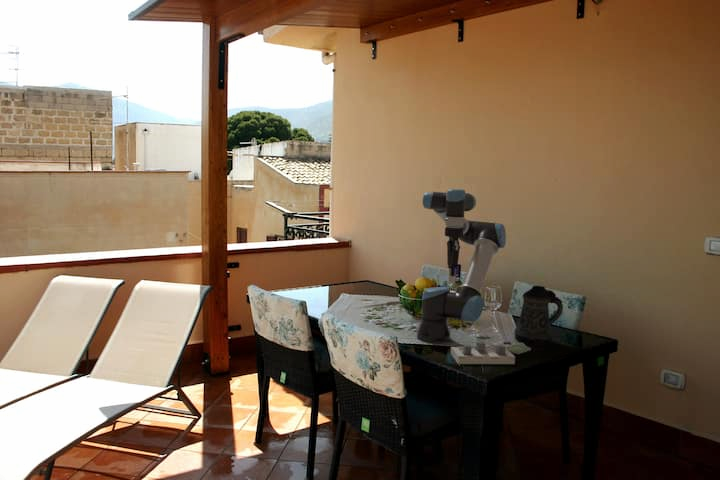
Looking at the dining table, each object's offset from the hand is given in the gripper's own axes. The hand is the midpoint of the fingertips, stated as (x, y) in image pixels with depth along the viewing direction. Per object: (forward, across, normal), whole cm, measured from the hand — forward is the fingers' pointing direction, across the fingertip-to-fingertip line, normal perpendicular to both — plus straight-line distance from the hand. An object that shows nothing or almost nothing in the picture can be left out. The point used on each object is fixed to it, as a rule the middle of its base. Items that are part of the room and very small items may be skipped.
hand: (451, 283), depth 247 cm
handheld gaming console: (+30, -6, +29) cm, 42 cm away
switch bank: (+29, +9, +12) cm, 33 cm away
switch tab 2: (+27, +6, +12) cm, 30 cm away
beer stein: (+30, -18, +45) cm, 57 cm away
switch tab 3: (+27, +11, +19) cm, 35 cm away
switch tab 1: (+27, +11, +5) cm, 30 cm away
